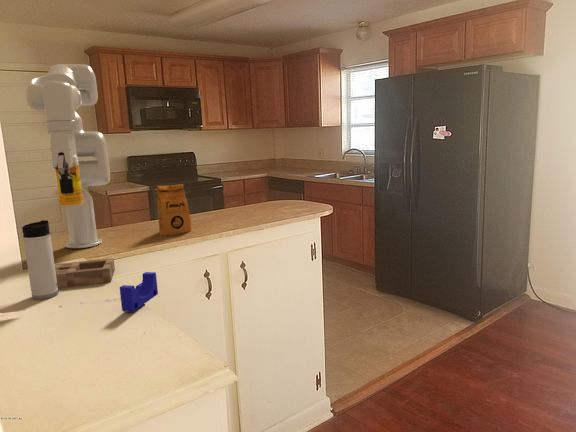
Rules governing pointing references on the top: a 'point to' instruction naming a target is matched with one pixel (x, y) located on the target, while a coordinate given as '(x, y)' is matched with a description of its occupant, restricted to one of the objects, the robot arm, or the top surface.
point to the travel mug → (40, 260)
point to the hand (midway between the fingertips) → (70, 191)
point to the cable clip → (139, 292)
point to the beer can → (76, 197)
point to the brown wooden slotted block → (84, 272)
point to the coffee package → (173, 210)
